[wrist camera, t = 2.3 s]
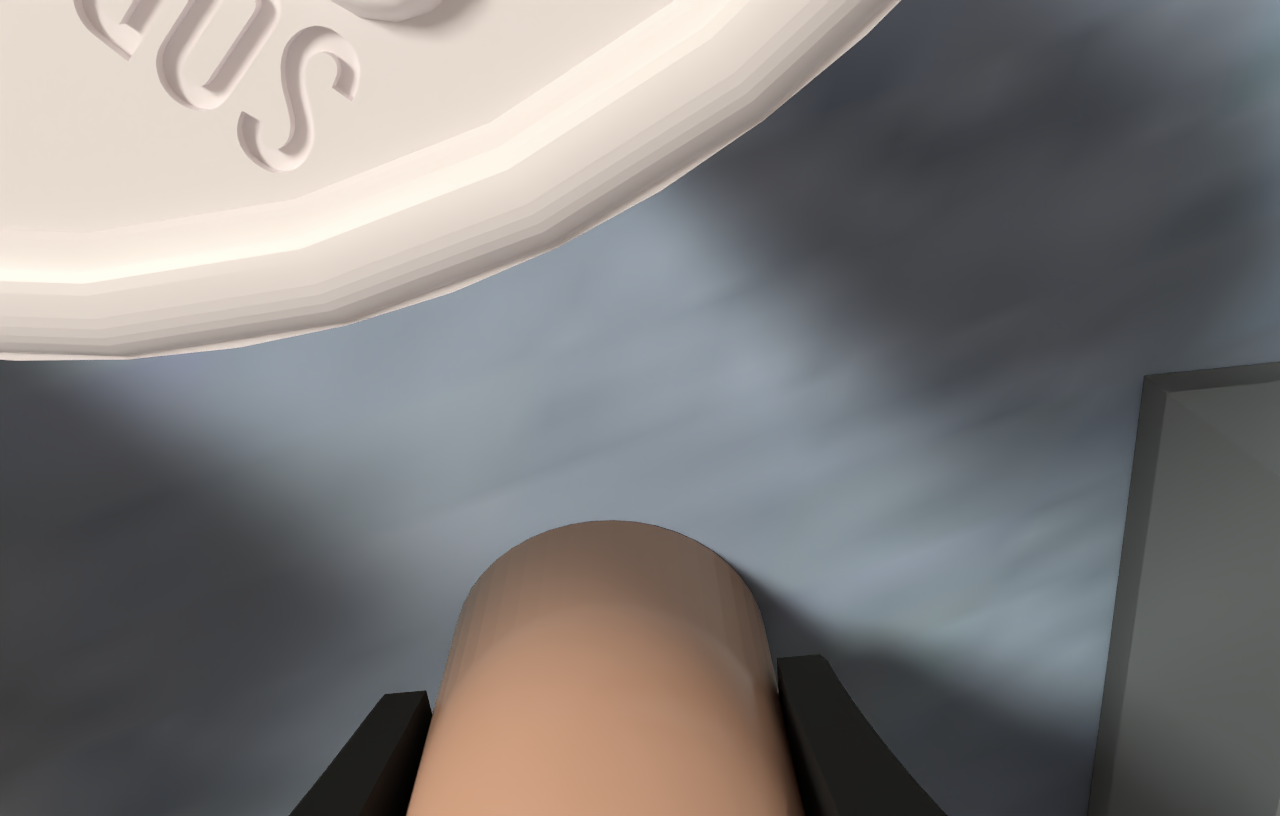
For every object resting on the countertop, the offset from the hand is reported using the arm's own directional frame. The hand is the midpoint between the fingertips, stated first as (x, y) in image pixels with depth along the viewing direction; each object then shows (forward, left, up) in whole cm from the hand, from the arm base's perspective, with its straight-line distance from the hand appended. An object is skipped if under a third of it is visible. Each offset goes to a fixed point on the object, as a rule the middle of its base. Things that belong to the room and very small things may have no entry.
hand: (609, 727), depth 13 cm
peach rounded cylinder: (0, 0, -2) cm, 2 cm away
